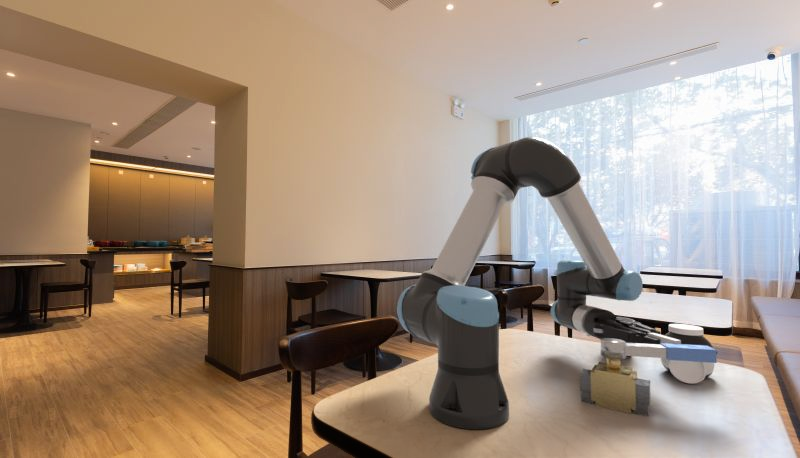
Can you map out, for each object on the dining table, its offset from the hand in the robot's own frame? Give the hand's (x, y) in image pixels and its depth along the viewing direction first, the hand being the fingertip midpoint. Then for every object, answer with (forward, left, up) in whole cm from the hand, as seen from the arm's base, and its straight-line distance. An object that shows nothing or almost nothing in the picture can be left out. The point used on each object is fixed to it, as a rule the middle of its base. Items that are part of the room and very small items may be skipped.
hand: (678, 347), depth 74 cm
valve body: (-12, +3, -11) cm, 17 cm away
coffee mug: (+14, +33, -12) cm, 38 cm away
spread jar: (+16, +13, -12) cm, 24 cm away
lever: (-5, 0, -2) cm, 6 cm away
